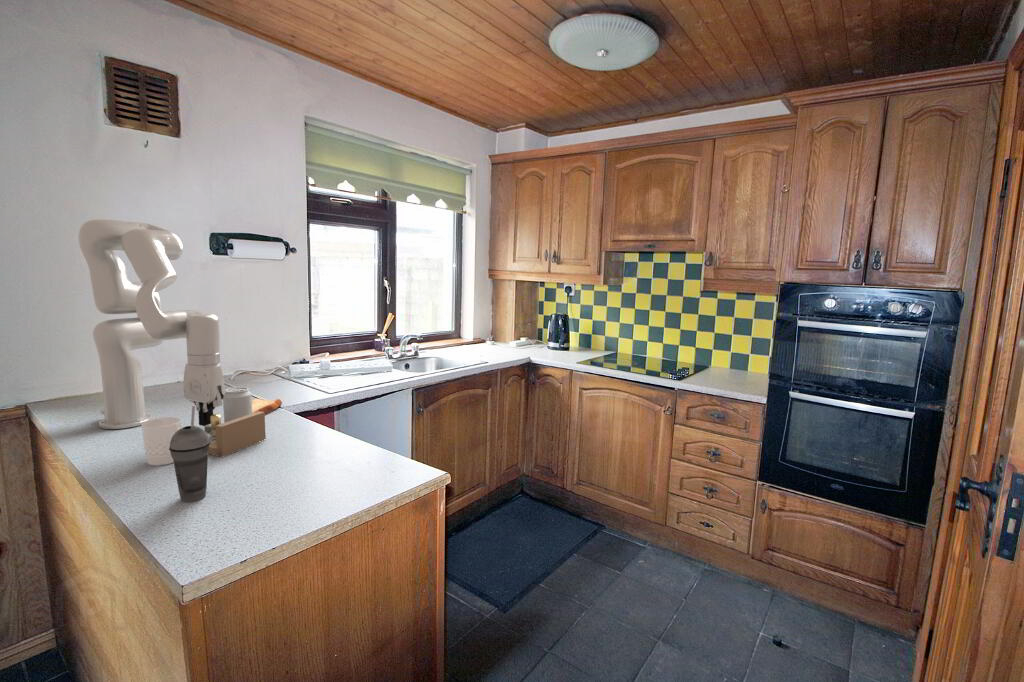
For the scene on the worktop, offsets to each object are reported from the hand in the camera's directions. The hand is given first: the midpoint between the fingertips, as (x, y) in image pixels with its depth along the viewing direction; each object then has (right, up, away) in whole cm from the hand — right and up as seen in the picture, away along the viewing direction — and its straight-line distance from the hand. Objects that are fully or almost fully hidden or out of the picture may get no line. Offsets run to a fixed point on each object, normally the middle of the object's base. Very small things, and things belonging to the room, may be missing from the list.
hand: (206, 424), depth 137 cm
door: (+1, -5, 0) cm, 5 cm away
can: (+2, -3, +13) cm, 13 cm away
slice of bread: (0, -1, +28) cm, 28 cm away
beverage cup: (+17, -10, -32) cm, 37 cm away
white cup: (-2, -7, -13) cm, 15 cm away
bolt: (+6, -3, -2) cm, 7 cm away
